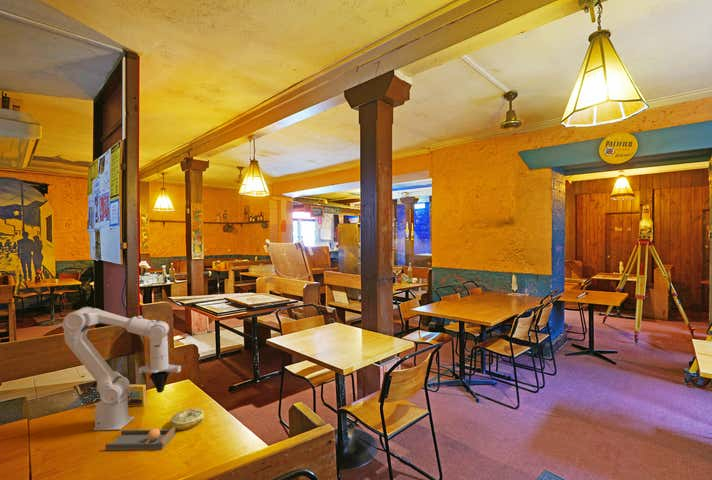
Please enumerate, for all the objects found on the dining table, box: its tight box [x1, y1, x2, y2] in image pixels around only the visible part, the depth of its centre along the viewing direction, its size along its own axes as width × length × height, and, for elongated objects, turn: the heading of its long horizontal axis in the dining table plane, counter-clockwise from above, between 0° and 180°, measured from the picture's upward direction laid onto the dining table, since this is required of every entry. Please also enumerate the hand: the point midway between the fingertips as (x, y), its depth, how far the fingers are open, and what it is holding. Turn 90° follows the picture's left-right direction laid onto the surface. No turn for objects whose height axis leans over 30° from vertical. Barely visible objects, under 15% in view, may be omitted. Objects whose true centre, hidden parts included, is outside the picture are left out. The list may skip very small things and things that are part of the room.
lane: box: [104, 426, 176, 451], centre depth 114 cm, size 18×8×3 cm, turn 90°
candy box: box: [126, 384, 148, 407], centre depth 139 cm, size 16×2×8 cm, turn 87°
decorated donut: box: [169, 407, 205, 431], centre depth 125 cm, size 10×11×4 cm
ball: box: [148, 427, 161, 441], centre depth 114 cm, size 4×4×4 cm
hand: (160, 391), depth 128 cm, fingers closed
